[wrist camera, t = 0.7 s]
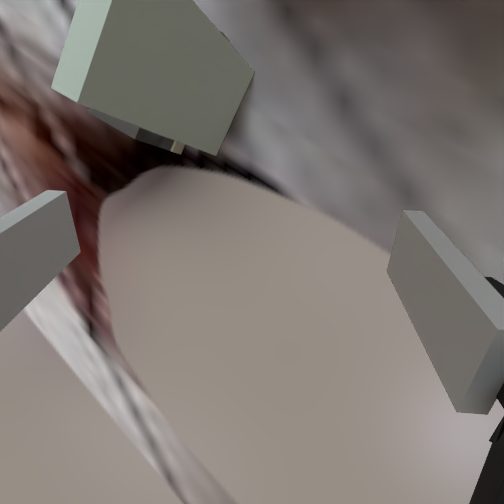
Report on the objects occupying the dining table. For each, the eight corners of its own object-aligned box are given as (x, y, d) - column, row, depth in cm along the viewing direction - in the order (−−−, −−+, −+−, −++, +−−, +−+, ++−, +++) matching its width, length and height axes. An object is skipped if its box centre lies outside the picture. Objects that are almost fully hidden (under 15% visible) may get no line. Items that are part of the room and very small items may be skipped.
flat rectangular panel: (227, 59, 32) (88, -84, 17) (254, 72, 31) (134, -67, 16) (191, 142, 34) (38, 80, 19) (216, 156, 33) (77, 102, 18)
